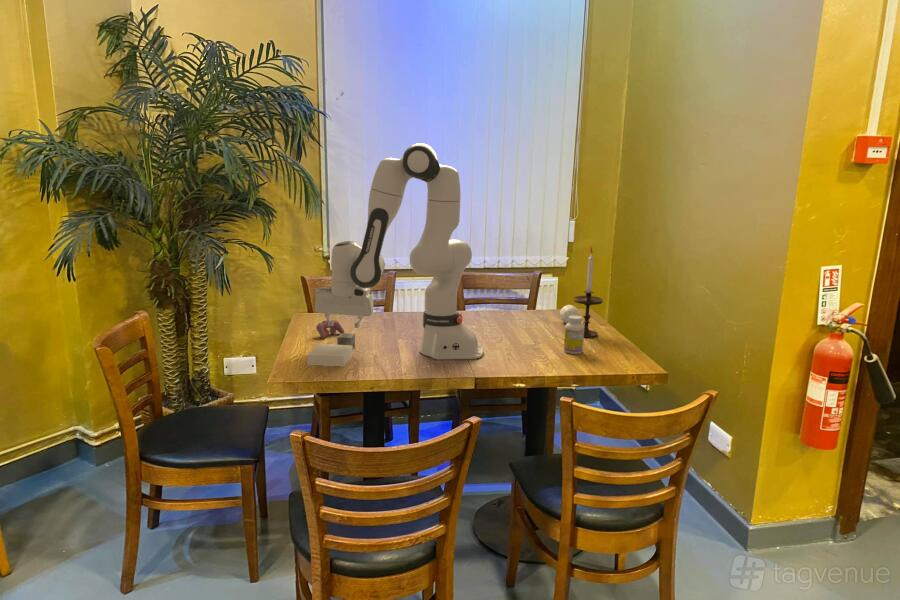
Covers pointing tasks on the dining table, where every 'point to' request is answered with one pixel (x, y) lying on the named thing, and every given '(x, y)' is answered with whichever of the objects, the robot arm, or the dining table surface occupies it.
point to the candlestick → (588, 299)
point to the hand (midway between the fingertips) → (344, 326)
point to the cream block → (330, 355)
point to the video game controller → (323, 325)
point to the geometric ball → (568, 312)
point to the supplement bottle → (574, 335)
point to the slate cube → (346, 339)
